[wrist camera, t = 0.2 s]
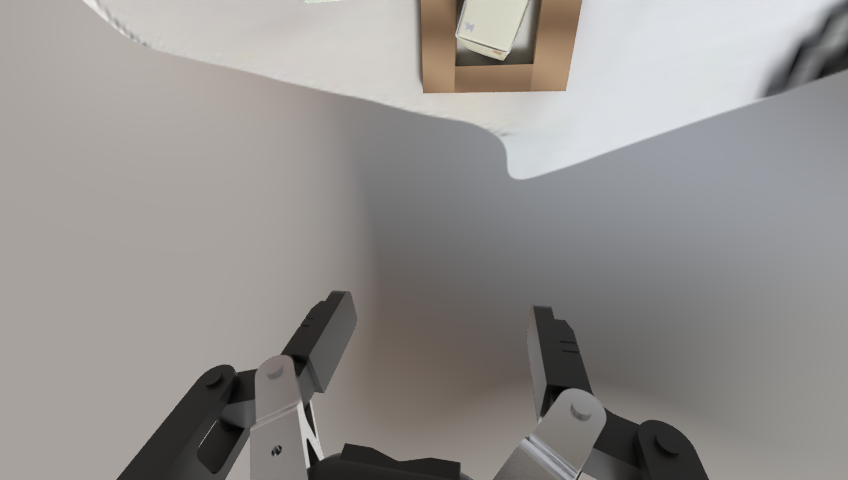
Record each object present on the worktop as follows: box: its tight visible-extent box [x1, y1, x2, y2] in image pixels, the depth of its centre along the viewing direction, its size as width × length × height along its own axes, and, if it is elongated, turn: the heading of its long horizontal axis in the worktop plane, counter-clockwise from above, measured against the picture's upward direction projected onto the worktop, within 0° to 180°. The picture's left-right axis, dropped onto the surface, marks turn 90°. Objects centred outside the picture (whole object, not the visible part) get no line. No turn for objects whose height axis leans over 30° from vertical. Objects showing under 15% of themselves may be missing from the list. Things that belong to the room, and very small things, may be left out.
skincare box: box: [455, 0, 530, 61], centre depth 26 cm, size 6×4×12 cm
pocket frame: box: [421, 0, 582, 93], centre depth 30 cm, size 13×15×2 cm
